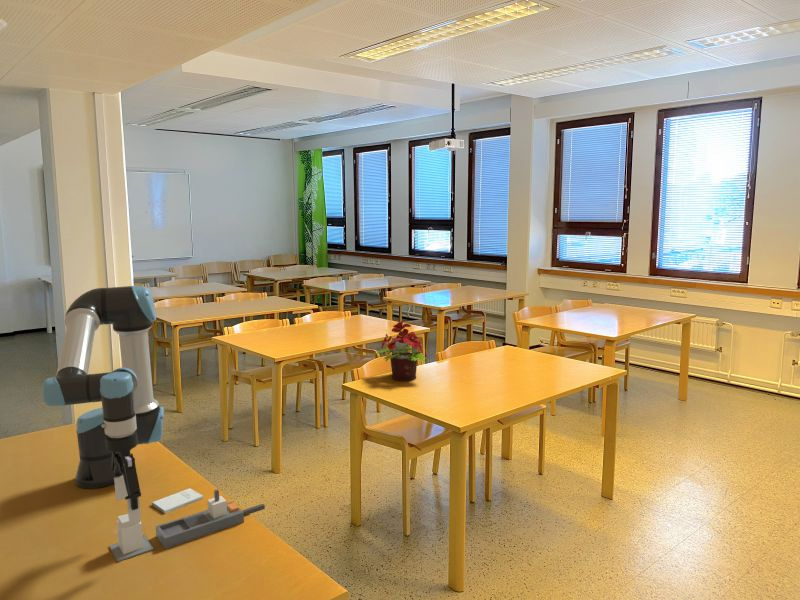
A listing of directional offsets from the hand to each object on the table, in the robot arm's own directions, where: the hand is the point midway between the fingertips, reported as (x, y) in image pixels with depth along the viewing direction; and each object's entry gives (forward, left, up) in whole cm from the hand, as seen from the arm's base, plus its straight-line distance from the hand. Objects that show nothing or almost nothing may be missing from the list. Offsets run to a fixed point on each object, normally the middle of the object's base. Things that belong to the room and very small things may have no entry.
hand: (128, 509), depth 160 cm
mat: (0, 0, -11) cm, 11 cm away
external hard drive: (-18, +18, -12) cm, 28 cm away
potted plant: (-81, +151, -11) cm, 171 cm away
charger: (0, 0, -11) cm, 11 cm away
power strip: (+2, +22, -11) cm, 25 cm away
